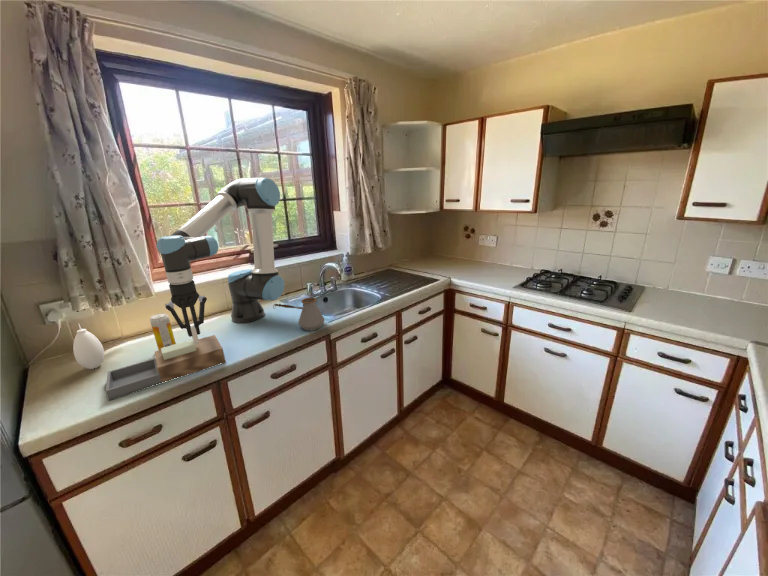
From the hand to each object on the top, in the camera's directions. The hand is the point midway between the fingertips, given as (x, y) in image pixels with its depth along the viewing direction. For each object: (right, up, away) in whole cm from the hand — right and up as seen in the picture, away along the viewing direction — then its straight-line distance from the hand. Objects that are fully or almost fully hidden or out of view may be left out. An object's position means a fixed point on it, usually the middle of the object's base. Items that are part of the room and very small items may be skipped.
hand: (196, 343), depth 120 cm
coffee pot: (+32, +1, +25) cm, 41 cm away
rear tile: (-3, -2, -1) cm, 4 cm away
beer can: (-18, -5, +12) cm, 23 cm away
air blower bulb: (-38, -10, +2) cm, 40 cm away
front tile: (-7, -4, -4) cm, 8 cm away
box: (-16, -12, -9) cm, 21 cm away
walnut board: (-2, -8, +1) cm, 8 cm away
